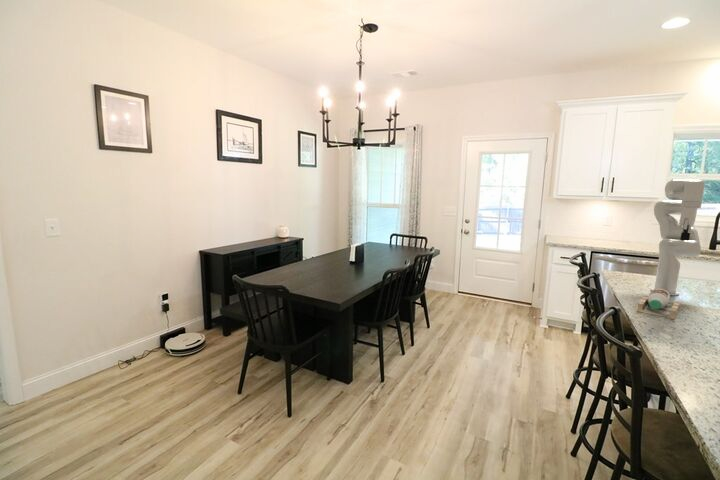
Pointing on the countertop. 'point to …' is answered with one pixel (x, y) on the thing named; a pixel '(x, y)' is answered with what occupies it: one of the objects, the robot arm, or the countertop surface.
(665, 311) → the cradle
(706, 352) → the countertop surface
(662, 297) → the milk bottle
